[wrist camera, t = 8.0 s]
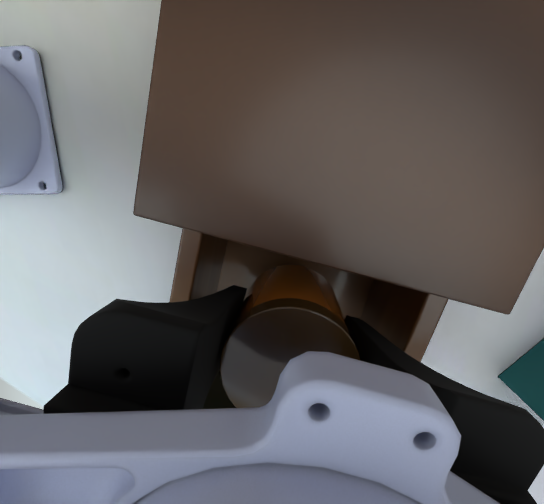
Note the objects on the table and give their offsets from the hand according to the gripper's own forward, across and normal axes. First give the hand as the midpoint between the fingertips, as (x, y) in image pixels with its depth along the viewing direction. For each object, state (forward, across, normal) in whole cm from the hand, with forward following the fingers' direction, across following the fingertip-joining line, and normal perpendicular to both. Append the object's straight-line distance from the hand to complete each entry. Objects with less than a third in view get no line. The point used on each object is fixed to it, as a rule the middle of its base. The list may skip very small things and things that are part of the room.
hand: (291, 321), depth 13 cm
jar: (+1, 0, 0) cm, 1 cm away
